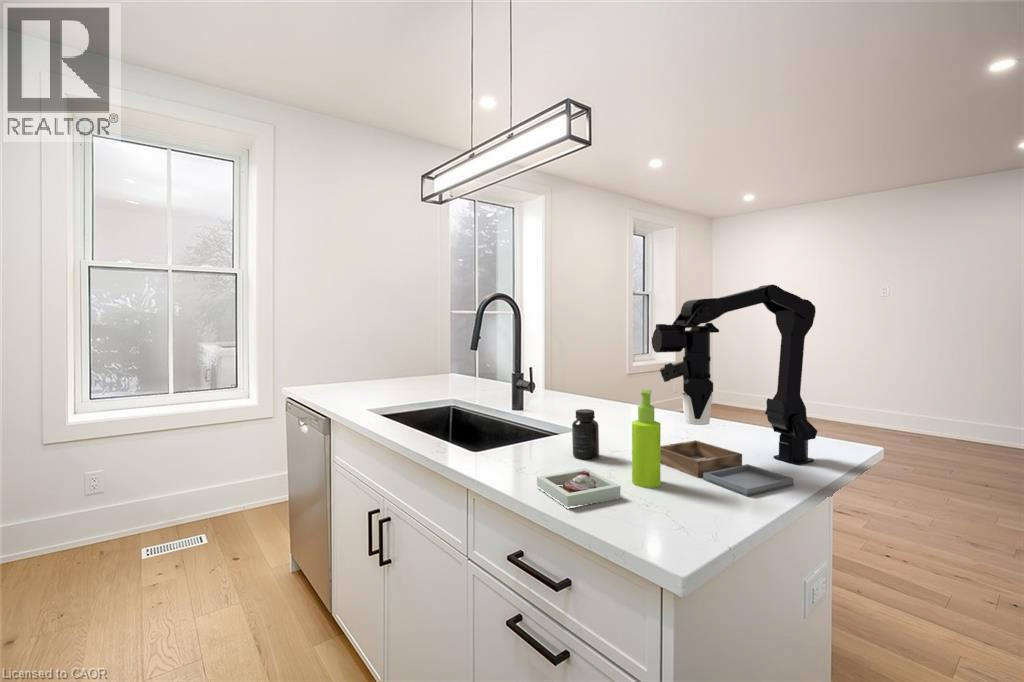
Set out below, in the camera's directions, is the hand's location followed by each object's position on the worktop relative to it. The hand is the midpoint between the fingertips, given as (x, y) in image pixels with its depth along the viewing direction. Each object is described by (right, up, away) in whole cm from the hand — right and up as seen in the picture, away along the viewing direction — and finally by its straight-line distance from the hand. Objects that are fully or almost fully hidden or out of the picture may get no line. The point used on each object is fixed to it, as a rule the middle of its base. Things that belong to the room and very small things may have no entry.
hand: (697, 416), depth 112 cm
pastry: (-31, -13, -18) cm, 38 cm away
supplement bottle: (-26, -12, +9) cm, 29 cm away
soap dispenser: (-15, -13, -11) cm, 23 cm away
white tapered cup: (0, -2, 0) cm, 2 cm away
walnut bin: (0, -12, +1) cm, 12 cm away
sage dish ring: (-31, -13, -17) cm, 38 cm away
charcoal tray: (+6, -12, -12) cm, 18 cm away
